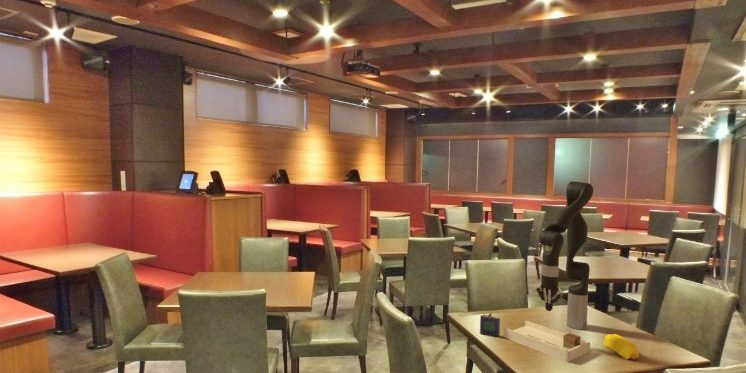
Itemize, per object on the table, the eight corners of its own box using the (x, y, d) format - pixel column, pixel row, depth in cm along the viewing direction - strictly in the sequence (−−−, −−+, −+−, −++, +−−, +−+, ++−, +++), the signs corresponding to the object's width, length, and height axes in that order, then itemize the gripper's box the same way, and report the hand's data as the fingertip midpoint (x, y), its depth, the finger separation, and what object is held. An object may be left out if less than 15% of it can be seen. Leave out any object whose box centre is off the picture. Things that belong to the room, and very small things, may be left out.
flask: (499, 335, 212) (500, 313, 212) (499, 337, 210) (499, 315, 209) (480, 332, 216) (480, 310, 215) (479, 334, 213) (479, 312, 213)
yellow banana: (627, 362, 186) (643, 361, 187) (627, 346, 186) (644, 345, 187) (598, 345, 204) (614, 344, 205) (599, 330, 203) (614, 330, 205)
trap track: (526, 329, 221) (526, 320, 220) (589, 351, 195) (590, 341, 195) (503, 337, 210) (504, 328, 210) (567, 362, 184) (568, 351, 184)
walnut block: (569, 343, 199) (569, 332, 199) (580, 347, 195) (580, 336, 195) (563, 346, 196) (563, 335, 196) (574, 350, 192) (574, 338, 192)
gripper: (567, 276, 202) (566, 313, 203) (541, 269, 212) (540, 304, 213) (558, 278, 197) (557, 316, 198) (532, 272, 208) (531, 308, 209)
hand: (548, 310), depth 206 cm, fingers closed
